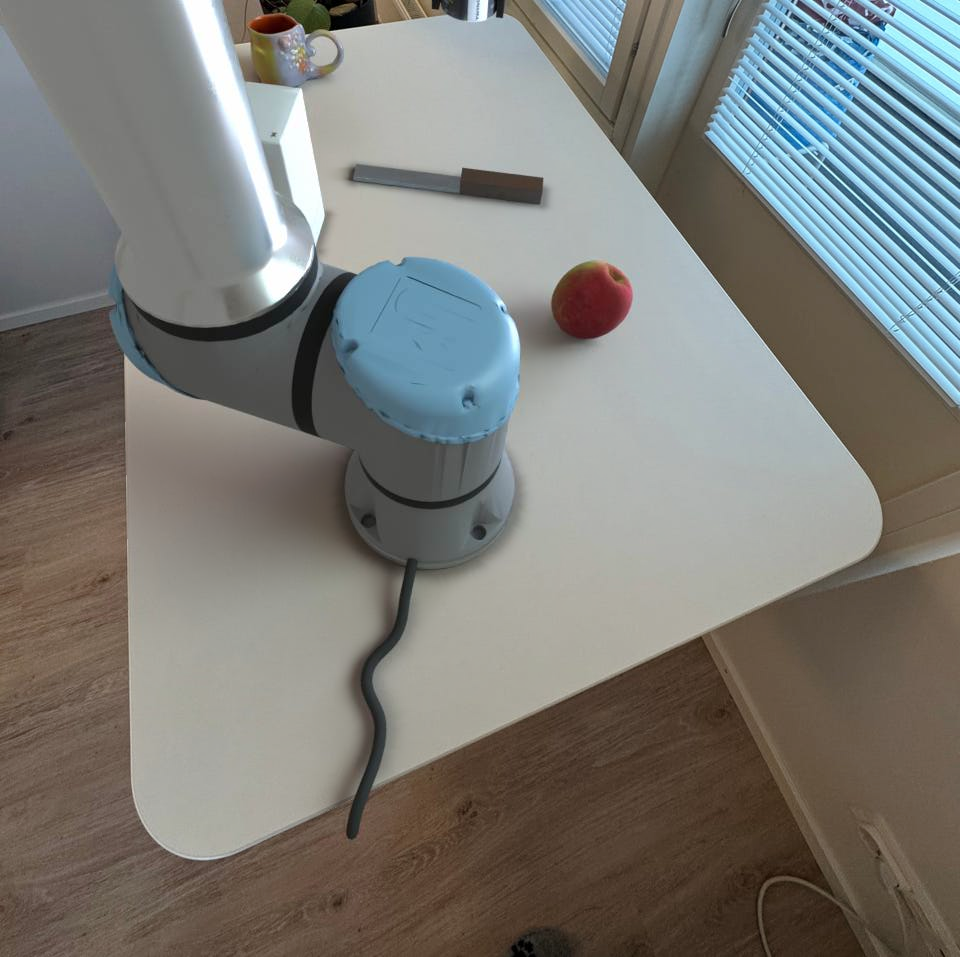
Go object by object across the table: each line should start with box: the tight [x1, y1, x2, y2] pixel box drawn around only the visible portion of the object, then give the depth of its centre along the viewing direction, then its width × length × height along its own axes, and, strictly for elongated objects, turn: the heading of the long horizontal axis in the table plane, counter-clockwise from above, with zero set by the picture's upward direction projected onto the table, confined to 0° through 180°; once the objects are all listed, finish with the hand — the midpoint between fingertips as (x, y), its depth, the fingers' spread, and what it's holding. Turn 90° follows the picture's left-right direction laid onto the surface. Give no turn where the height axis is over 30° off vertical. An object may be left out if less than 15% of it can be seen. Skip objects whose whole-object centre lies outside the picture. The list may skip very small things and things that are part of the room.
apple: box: [550, 260, 634, 340], centre depth 65 cm, size 8×8×8 cm
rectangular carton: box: [244, 80, 326, 248], centre depth 65 cm, size 9×9×15 cm
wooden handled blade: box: [352, 163, 544, 205], centre depth 77 cm, size 23×3×2 cm, turn 85°
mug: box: [246, 12, 345, 88], centre depth 83 cm, size 12×7×7 cm, turn 92°
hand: (468, 6), depth 66 cm, fingers closed on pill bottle, 6 cm apart
